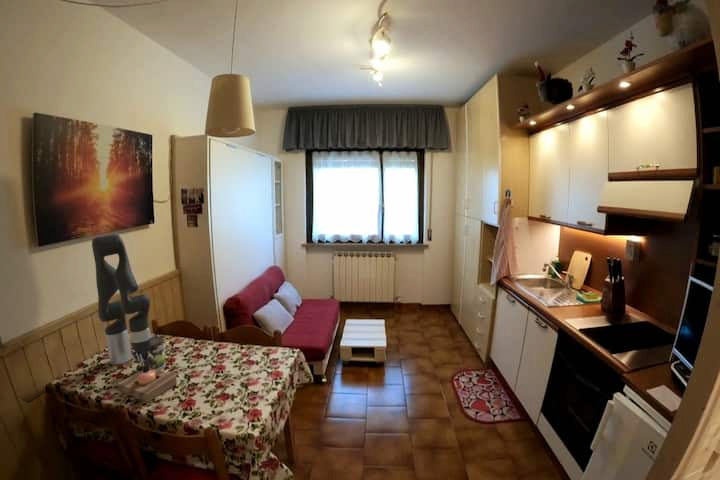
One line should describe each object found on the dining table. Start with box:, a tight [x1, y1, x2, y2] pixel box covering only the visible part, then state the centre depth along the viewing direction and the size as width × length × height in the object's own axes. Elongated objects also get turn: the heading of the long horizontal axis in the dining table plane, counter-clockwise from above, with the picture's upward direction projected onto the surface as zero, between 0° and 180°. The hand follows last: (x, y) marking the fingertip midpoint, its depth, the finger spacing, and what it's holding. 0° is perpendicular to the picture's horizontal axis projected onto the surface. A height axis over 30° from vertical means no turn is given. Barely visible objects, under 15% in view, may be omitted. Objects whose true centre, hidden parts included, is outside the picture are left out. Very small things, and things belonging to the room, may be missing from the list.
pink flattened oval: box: [138, 371, 156, 387], centre depth 146 cm, size 7×7×4 cm
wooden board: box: [117, 368, 177, 403], centre depth 146 cm, size 20×14×4 cm
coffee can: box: [149, 336, 167, 370], centre depth 162 cm, size 10×10×14 cm
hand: (146, 372), depth 145 cm, fingers closed
